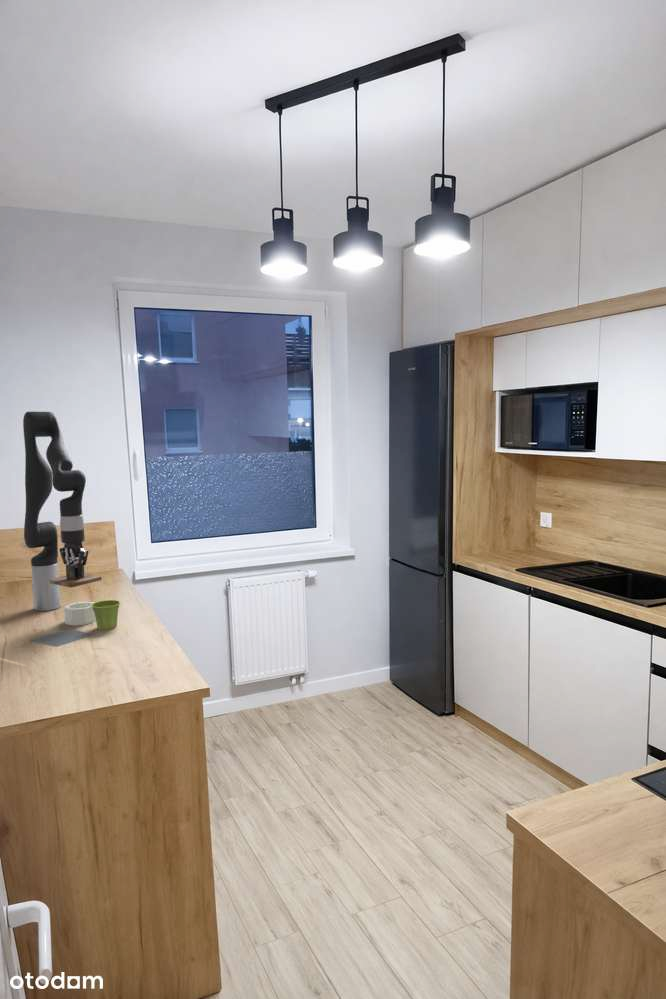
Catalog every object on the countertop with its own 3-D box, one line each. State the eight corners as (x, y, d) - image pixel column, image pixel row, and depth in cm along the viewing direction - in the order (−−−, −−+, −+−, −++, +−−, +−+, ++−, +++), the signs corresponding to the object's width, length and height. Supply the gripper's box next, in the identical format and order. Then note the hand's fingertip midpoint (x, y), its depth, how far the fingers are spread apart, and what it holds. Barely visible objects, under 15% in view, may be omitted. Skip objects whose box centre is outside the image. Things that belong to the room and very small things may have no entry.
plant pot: (128, 625, 224) (126, 601, 223) (107, 633, 215) (106, 608, 214) (107, 623, 227) (105, 599, 227) (86, 631, 219) (84, 605, 218)
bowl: (60, 624, 228) (59, 607, 228) (85, 616, 237) (83, 600, 236) (78, 627, 223) (76, 610, 222) (102, 620, 231) (101, 603, 231)
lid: (49, 583, 225) (48, 565, 224) (80, 576, 235) (79, 559, 234) (70, 587, 218) (69, 569, 218) (101, 580, 228) (100, 562, 228)
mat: (30, 641, 209) (30, 640, 209) (68, 629, 221) (68, 628, 221) (56, 648, 202) (56, 646, 202) (95, 635, 213) (94, 634, 213)
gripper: (94, 528, 224) (97, 577, 226) (69, 525, 232) (72, 573, 234) (75, 531, 218) (78, 582, 220) (50, 528, 225) (53, 577, 227)
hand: (75, 577), depth 227 cm, fingers closed on lid, 3 cm apart
